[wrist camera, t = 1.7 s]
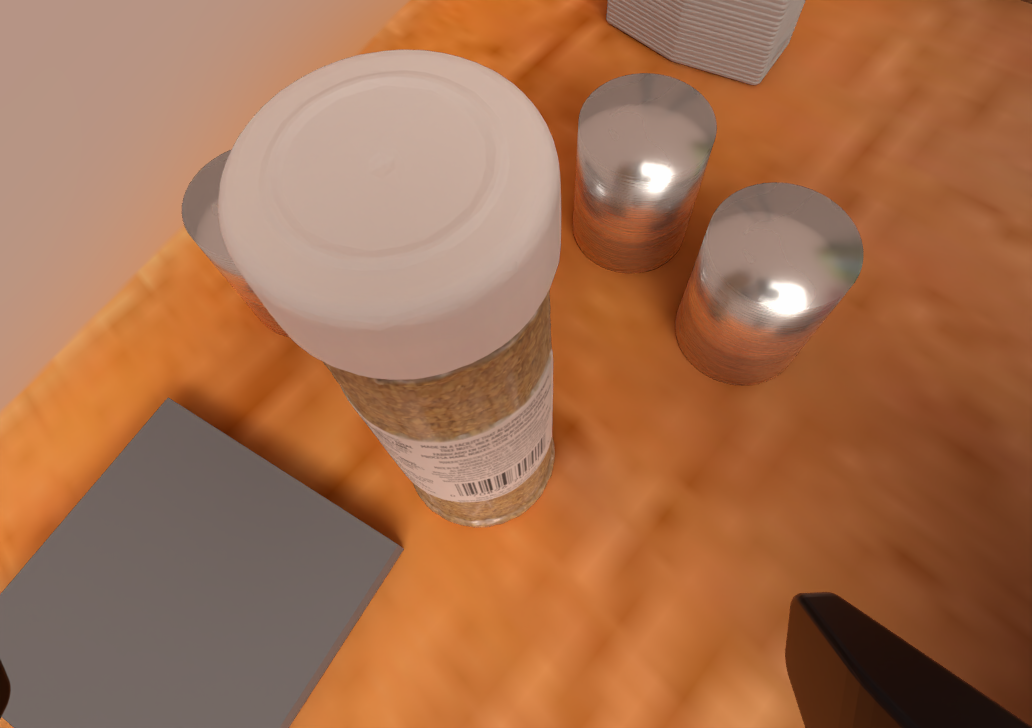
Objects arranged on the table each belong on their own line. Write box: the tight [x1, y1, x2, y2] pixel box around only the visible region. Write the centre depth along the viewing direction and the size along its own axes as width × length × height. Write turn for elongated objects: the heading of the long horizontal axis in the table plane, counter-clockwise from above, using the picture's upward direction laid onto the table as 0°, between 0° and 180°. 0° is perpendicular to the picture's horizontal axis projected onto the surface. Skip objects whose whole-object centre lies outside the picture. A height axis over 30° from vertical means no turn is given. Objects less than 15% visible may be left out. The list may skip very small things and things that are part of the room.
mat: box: [0, 398, 404, 728], centre depth 19 cm, size 9×9×1 cm
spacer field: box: [182, 73, 863, 386], centre depth 21 cm, size 12×18×5 cm
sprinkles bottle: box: [218, 50, 561, 527], centre depth 15 cm, size 5×5×14 cm
